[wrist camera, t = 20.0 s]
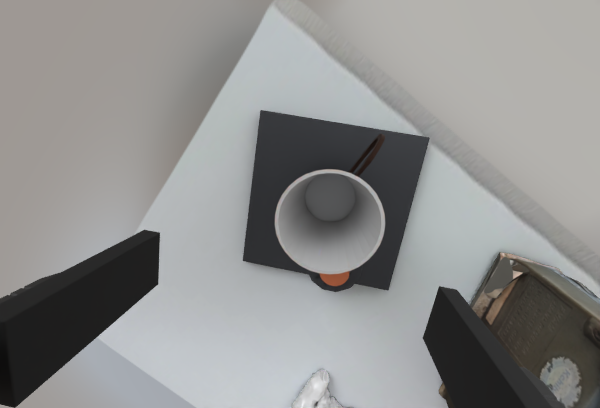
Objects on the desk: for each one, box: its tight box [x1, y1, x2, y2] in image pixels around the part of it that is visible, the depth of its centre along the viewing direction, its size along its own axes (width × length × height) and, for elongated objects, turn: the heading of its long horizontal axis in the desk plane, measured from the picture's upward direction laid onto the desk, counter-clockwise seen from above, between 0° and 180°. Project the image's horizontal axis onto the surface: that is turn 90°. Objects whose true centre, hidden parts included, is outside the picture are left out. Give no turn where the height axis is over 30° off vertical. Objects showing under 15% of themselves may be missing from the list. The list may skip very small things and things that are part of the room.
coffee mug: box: [275, 133, 385, 274], centre depth 27 cm, size 12×9×10 cm
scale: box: [243, 110, 429, 292], centre depth 32 cm, size 18×18×3 cm
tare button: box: [320, 271, 349, 286], centre depth 31 cm, size 3×3×2 cm
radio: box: [439, 252, 600, 408], centre depth 28 cm, size 23×9×15 cm, turn 160°
